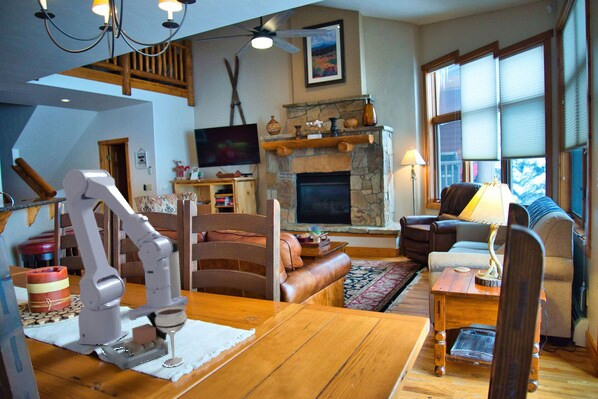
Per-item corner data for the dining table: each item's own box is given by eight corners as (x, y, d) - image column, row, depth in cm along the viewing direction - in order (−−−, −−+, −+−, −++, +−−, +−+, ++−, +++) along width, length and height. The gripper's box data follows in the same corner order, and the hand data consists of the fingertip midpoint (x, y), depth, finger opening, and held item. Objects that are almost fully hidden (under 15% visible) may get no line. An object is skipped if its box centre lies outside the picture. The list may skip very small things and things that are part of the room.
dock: (123, 370, 88) (122, 359, 88) (101, 352, 97) (100, 342, 97) (169, 353, 95) (169, 343, 95) (145, 338, 105) (145, 329, 104)
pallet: (135, 359, 93) (134, 349, 93) (123, 350, 98) (122, 341, 98) (164, 349, 98) (163, 339, 97) (151, 341, 103) (150, 332, 102)
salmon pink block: (139, 345, 95) (139, 332, 95) (132, 340, 98) (132, 328, 98) (156, 339, 98) (155, 327, 97) (148, 335, 101) (148, 323, 100)
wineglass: (177, 352, 95) (174, 303, 95) (195, 360, 91) (192, 308, 90) (151, 364, 90) (148, 311, 89) (168, 372, 86) (165, 317, 85)
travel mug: (157, 303, 133) (153, 243, 132) (169, 297, 139) (165, 239, 138) (173, 304, 131) (169, 243, 130) (184, 298, 137) (181, 240, 136)
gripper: (135, 296, 92) (139, 354, 93) (192, 282, 102) (195, 335, 103) (123, 290, 97) (127, 346, 98) (179, 278, 107) (181, 328, 108)
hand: (161, 340), depth 101 cm, fingers closed
